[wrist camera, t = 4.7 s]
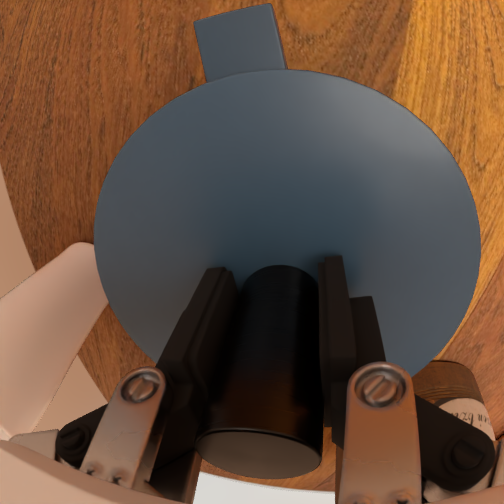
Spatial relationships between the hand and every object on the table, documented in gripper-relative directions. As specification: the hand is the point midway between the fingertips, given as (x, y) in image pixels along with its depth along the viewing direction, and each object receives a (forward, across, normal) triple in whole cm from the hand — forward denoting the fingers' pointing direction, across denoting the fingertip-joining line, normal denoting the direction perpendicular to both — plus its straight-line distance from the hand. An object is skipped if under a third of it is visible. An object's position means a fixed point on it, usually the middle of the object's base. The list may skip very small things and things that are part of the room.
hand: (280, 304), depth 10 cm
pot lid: (+1, 0, 0) cm, 1 cm away
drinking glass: (+10, +16, +3) cm, 19 cm away
